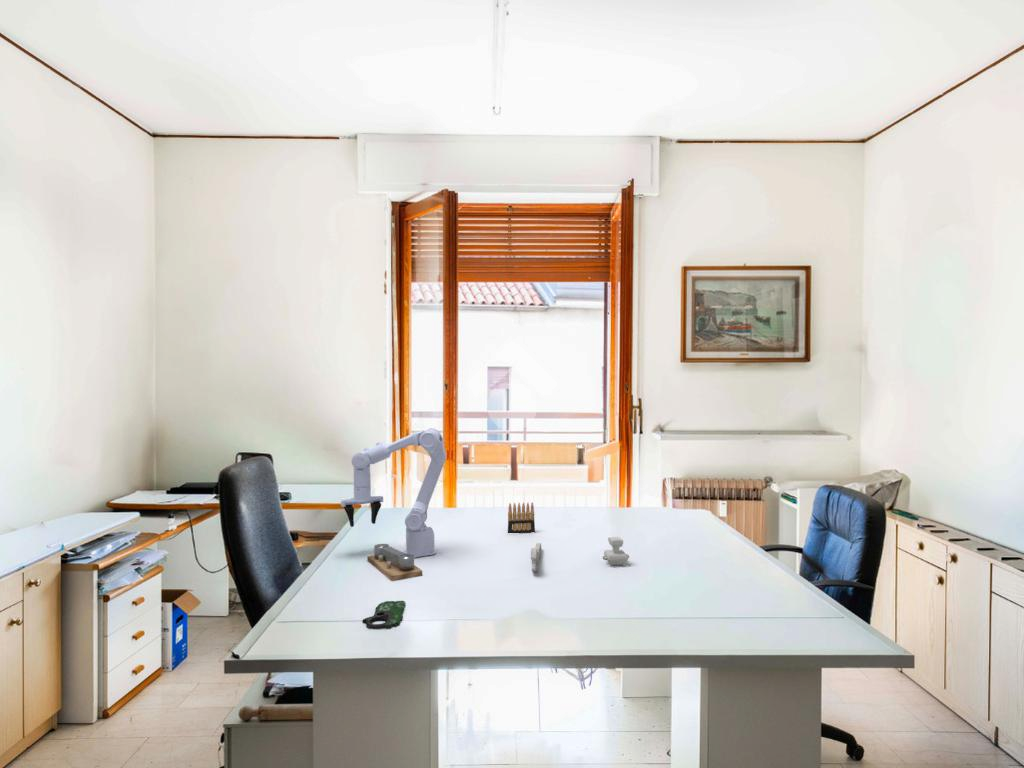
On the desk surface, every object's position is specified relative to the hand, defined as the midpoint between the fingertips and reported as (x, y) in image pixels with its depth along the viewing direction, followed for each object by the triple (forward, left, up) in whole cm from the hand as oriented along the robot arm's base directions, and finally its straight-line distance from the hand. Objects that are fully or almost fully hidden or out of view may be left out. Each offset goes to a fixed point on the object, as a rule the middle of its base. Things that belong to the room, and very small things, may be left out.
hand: (362, 524), depth 220 cm
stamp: (-68, +55, -11) cm, 88 cm away
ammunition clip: (-62, +5, -11) cm, 63 cm away
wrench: (-46, +40, -11) cm, 62 cm away
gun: (+12, +57, -11) cm, 59 cm away
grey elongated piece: (-4, +20, -9) cm, 22 cm away
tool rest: (-4, +20, -10) cm, 23 cm away
